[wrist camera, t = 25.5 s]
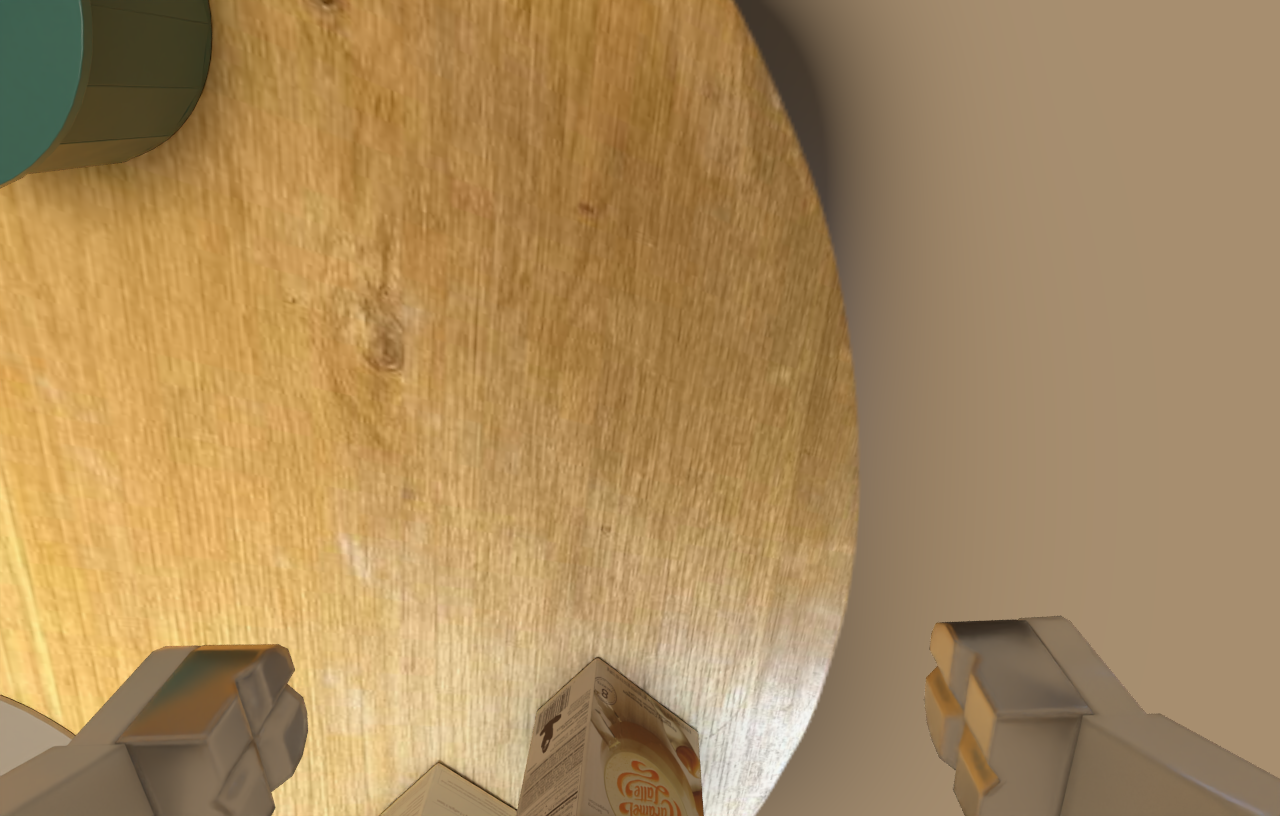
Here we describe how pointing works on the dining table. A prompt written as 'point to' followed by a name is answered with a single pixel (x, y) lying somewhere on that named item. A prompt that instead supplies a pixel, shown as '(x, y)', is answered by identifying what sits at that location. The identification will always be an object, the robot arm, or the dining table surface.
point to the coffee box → (610, 753)
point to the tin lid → (40, 78)
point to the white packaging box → (446, 798)
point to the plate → (26, 734)
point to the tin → (137, 80)
